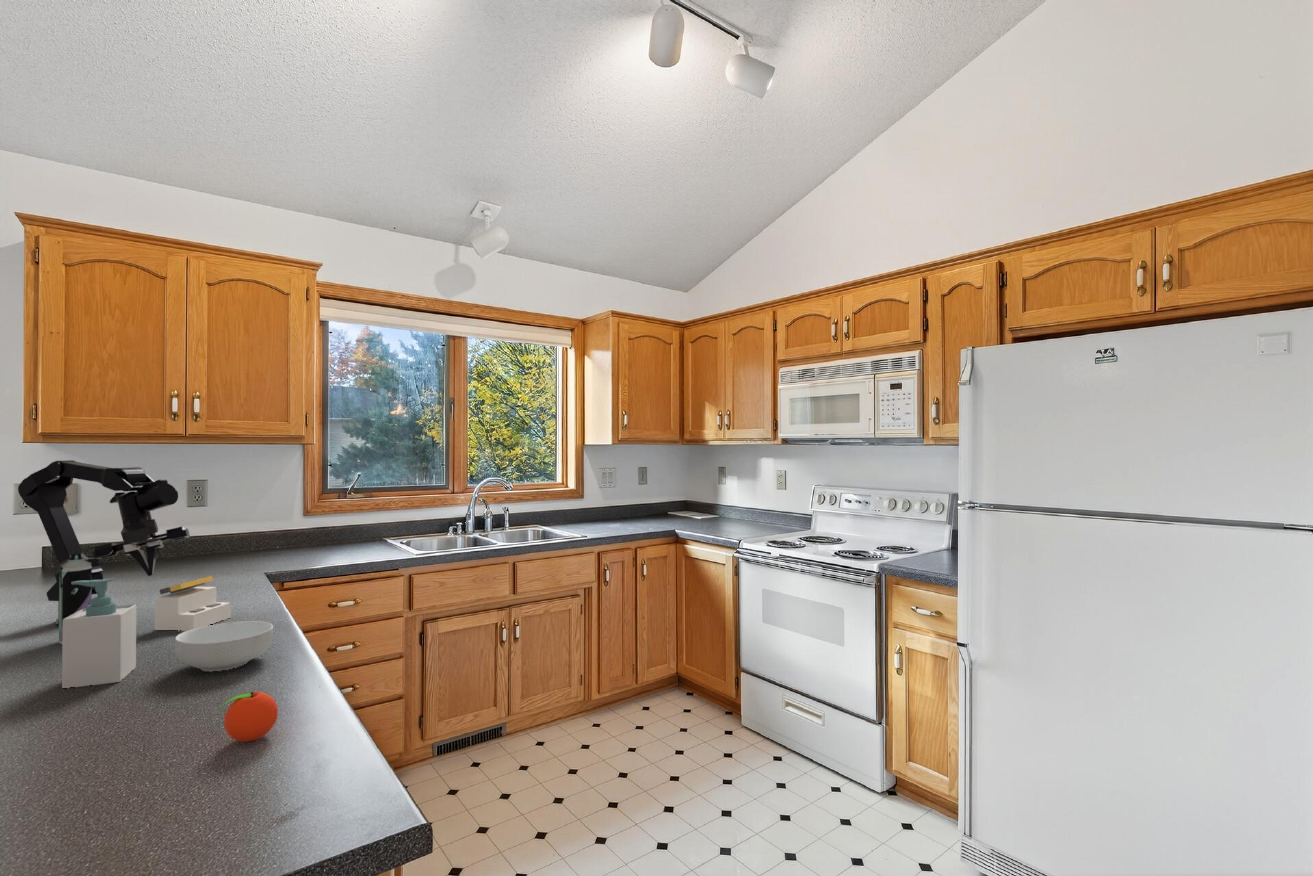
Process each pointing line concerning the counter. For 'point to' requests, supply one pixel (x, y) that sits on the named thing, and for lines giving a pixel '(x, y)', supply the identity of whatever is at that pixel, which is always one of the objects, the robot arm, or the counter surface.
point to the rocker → (186, 585)
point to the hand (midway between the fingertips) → (150, 575)
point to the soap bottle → (98, 641)
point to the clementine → (250, 716)
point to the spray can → (73, 588)
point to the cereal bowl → (223, 644)
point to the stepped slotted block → (190, 609)
